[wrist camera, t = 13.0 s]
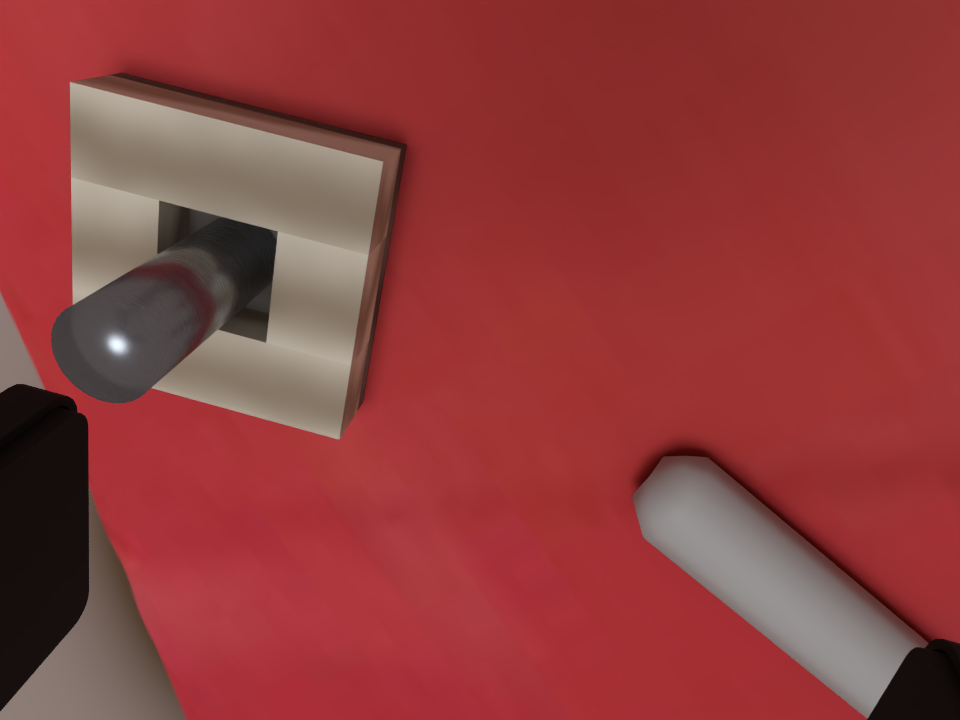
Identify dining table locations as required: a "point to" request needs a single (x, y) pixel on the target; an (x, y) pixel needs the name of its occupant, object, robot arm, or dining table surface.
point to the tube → (773, 578)
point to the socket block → (250, 199)
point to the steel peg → (162, 310)
